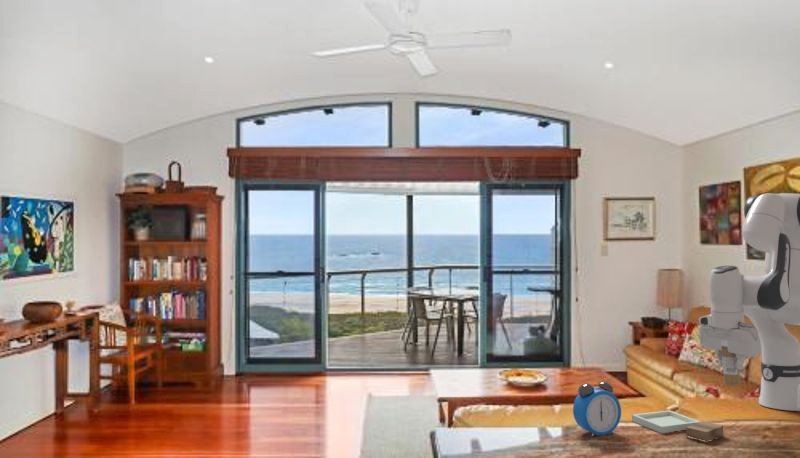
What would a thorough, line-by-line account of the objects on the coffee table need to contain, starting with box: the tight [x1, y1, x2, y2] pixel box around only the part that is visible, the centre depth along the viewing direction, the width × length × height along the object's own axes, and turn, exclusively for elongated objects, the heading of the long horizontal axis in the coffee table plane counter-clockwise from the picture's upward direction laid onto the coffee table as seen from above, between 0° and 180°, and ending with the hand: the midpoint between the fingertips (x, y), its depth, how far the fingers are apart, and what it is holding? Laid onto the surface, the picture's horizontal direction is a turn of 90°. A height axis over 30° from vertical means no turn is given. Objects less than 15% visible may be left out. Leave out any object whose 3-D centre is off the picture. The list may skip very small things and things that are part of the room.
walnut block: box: [685, 420, 724, 441], centre depth 175 cm, size 9×6×3 cm, turn 125°
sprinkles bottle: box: [720, 340, 741, 387], centre depth 181 cm, size 5×5×13 cm
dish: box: [631, 410, 701, 434], centre depth 188 cm, size 14×14×2 cm
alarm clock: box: [572, 381, 622, 436], centre depth 182 cm, size 13×6×15 cm, turn 107°
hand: (731, 367), depth 181 cm, fingers closed on sprinkles bottle, 4 cm apart
